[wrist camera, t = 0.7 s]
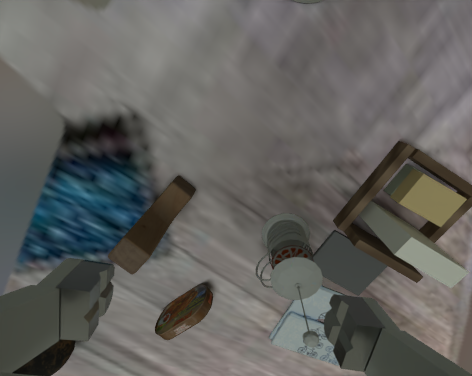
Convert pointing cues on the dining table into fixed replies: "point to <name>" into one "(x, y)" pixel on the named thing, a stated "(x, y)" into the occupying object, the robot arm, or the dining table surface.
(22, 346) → the robot arm
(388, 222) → the pale grey rectangular block
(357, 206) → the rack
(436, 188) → the offcut upper
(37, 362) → the dark brown vase
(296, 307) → the light flat printed piece
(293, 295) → the french press
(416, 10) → the dining table surface
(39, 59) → the dining table surface
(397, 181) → the offcut lower
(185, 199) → the wooden block
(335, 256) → the pad
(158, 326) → the tin
